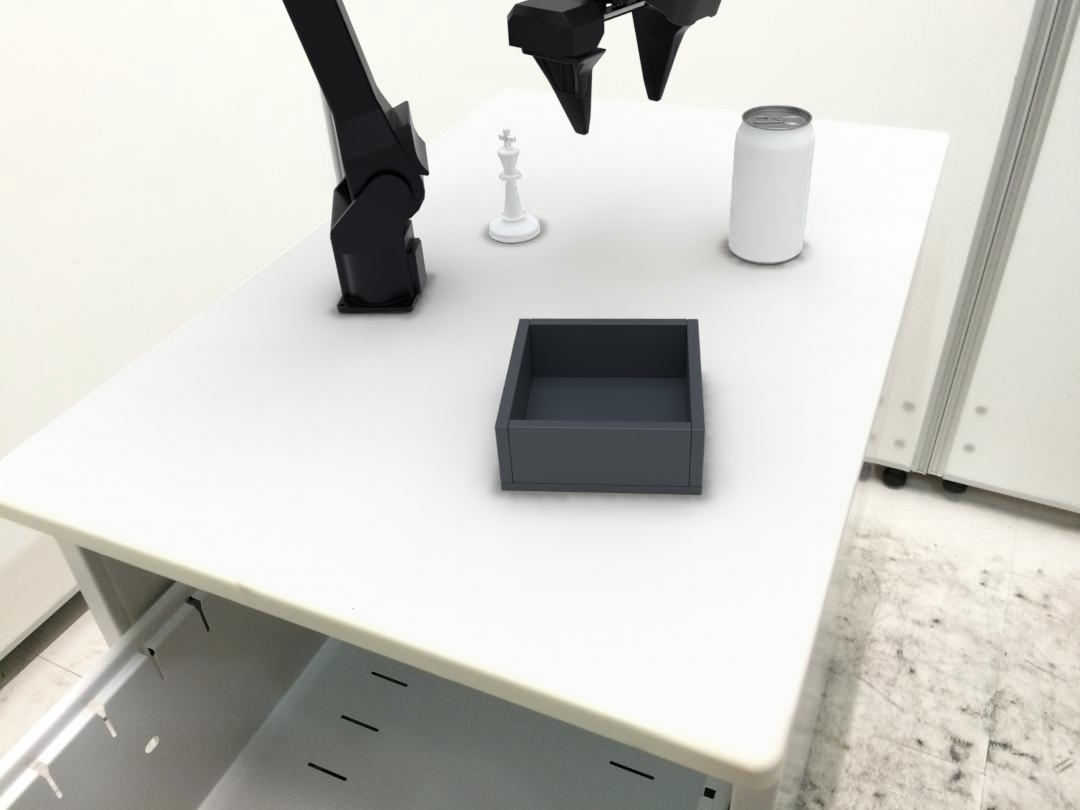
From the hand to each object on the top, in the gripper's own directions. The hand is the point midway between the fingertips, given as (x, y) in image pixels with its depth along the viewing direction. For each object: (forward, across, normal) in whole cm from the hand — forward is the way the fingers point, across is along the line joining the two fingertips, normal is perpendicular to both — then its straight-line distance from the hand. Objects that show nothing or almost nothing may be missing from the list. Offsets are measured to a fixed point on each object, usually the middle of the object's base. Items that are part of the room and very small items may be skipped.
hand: (619, 116), depth 75 cm
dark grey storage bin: (+13, -19, -14) cm, 27 cm away
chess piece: (+14, -1, +12) cm, 18 cm away
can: (+13, +10, -8) cm, 19 cm away
